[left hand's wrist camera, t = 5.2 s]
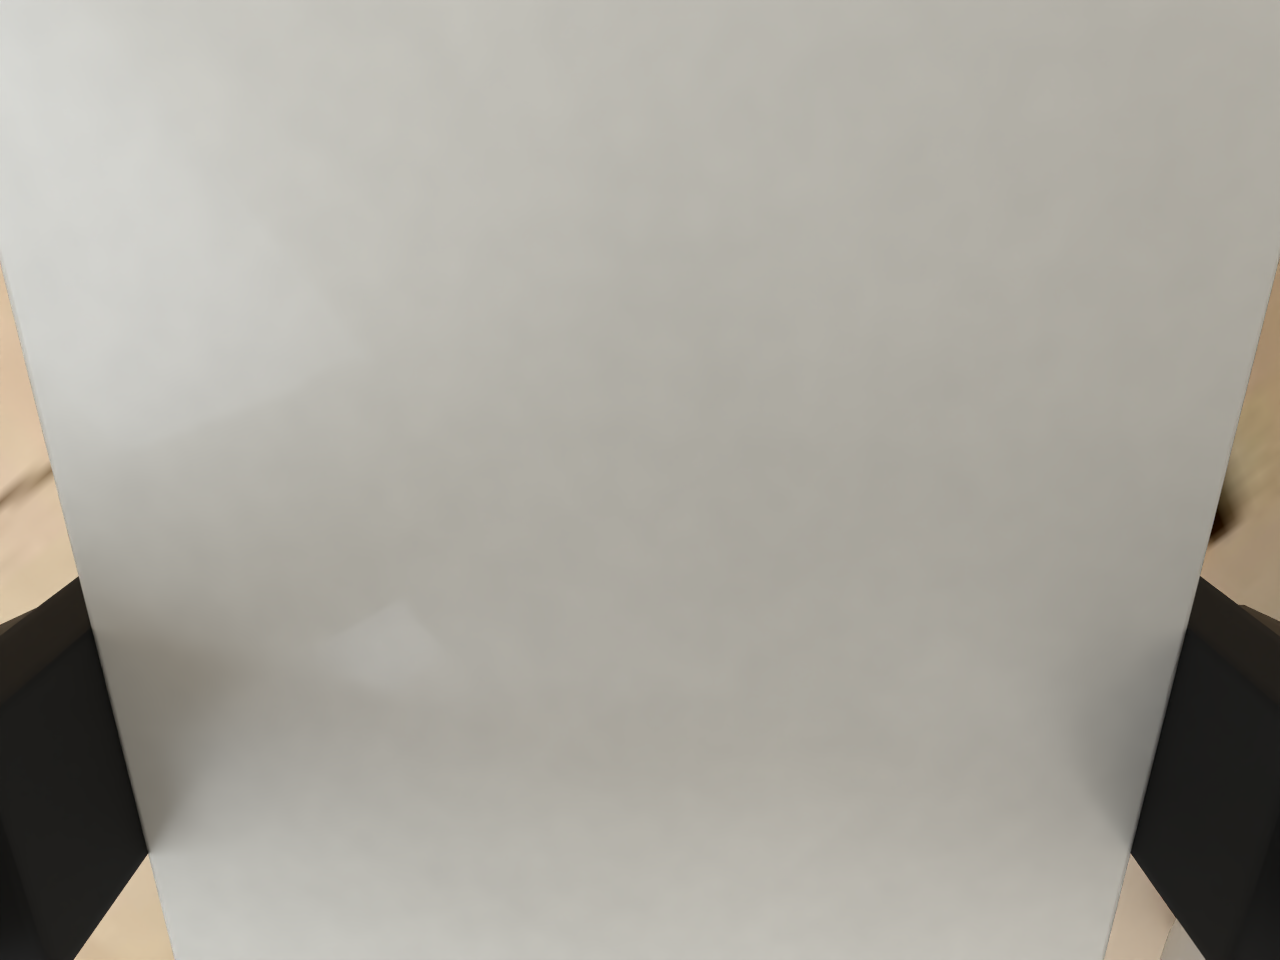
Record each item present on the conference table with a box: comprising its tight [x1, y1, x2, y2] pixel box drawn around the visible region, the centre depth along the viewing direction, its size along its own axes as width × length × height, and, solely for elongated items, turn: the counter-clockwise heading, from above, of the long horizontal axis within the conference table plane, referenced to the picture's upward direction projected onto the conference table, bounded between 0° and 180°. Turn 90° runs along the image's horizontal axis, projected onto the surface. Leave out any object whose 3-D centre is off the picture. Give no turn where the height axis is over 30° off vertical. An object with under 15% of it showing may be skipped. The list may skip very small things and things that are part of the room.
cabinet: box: [0, 0, 1280, 960], centre depth 12 cm, size 17×10×11 cm, turn 0°
